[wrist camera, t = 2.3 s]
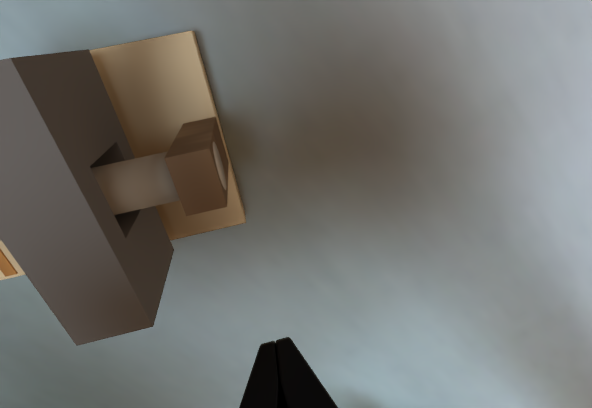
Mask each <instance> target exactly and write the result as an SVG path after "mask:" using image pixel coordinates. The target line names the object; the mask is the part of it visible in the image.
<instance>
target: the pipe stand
mask: <svg viewBox="0 0 592 408" xmlns="http://www.w3.org/2000/svg"><path fill="white" fill-rule="evenodd" d="M89 51H90V53H91V55H92V58H93V60H94V62H95V65H96V67H97V69H98V72H99V74H100V77H101V79H102V81H103V84H104V86H105V88H106V91H107V93H108V95H109V98H110V100H111V102H112V105H113V107H114V110H115V112H116V114H117V117H118V119H119V121H120V124H121V126H122V128H123V131H124V133H125V136H126V138H127V140H128V143H129V145H130V147H131V150H132V152H133V154H134V157H135V159H131V160H126V161H121V162H117V163H112V164H107V165H103V166H98V167H93V168H91V170H92V172H93V174H94V176H95V178H96V180H97V182H98V184H99V186H100V188H101V190H102V192H103V194H104V196H105V198H106V200H107V202H108V204H109V206H110V208H111V210H112V212H113V214H114V215H117V214H121V213H126V212H130V211H135V210H139V209H144V208H148V207H152V206H156V209H157V211H158V213H159V216H160V218H161V220H162V223H163V225H164V228H165V230H166V232H167V235H168V237H169V239H170V240H174V239H179V238H183V237H187V236H191V235H196V234H200V233H204V232H208V231H213V230H217V229H221V228H225V227H230V226H234V225H238V224H243V223H246V218H245V211H244V207H243V203H242V200H241V196H240V193H239V189H238V186H237V182H236V178H235V175H234V171H233V168H232V164H231V161H230V157H229V154H228V150H227V146H226V143H225V139H224V136H223V132H222V129H221V125H220V122H219V118H218V114H217V111H216V107H215V104H214V100H213V97H212V93H211V89H210V86H209V82H208V79H207V75H206V72H205V68H204V65H203V61H202V57H201V54H200V50H199V47H198V43H197V40H196V36H195V32H194V31H187V32H182V33H177V34H172V35H167V36H161V37H156V38H151V39H146V40H140V41H135V42H130V43H125V44H120V45H114V46H109V47H104V48H99V49H94V50H89ZM21 275H25V273H24V271H23V270H22V268H21V267H20V266H19V264H18V263H17V261H16V260H15V259H14V257H13V256H12V254H11V253H10V252H9V250H8V249H7V247H6V246H5V245H4V243H3V242H2V240H1V239H0V280H4V279H8V278H12V277H16V276H21Z"/></svg>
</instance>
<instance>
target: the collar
mask: <svg viewBox="0 0 592 408" xmlns="http://www.w3.org/2000/svg"><path fill="white" fill-rule="evenodd" d="M131 159H135V157H134V154H133V152H132V150H131V147H130V145H129V143H128V140H127V138H126V136H125V133H124V131H123V128H122V126H121V124H120V121H119V119H118V117H117V114H116V112H115V110H114V107H113V105H112V102H111V100H110V98H109V95H108V93H107V91H106V88H105V86H104V84H103V81H102V79H101V77H100V74H99V72H98V69H97V67H96V65H95V62H94V60H93V58H92V55H91V53H90V51H89V50H80V51H71V52H62V53H53V54H44V55H35V56H26V57H16V58H9V59H3V60H0V239H1V240H2V242H3V243H4V245H5V246H6V247H7V249H8V250H9V252H10V253H11V254H12V256H13V257H14V259H15V260H16V261H17V263H18V264H19V266H20V267H21V268H22V270H23V271H24V273H25V274H26V275H27V277H28V278H29V280H30V281H31V282H32V284H33V285H34V287H35V288H36V289H37V291H38V292H39V294H40V295H41V296H42V298H43V299H44V301H45V302H46V303H47V305H48V306H49V308H50V309H51V310H52V312H53V313H54V315H55V316H56V317H57V319H58V320H59V322H60V323H61V324H62V326H63V327H64V329H65V330H66V331H67V333H68V334H69V336H70V337H71V338H72V340H73V341H74V343H75V344H76V345H81V344H85V343H89V342H93V341H97V340H101V339H105V338H109V337H113V336H117V335H121V334H125V333H129V332H133V331H137V330H141V329H145V328H149V327H153V325H154V321H155V318H156V314H157V310H158V307H159V303H160V299H161V296H162V292H163V288H164V285H165V281H166V277H167V274H168V270H169V266H170V263H171V259H172V255H173V251H174V249H173V246H172V244H171V242H170V239H169V237H168V235H167V232H166V230H165V228H164V225H163V223H162V220H161V218H160V216H159V213H158V211H157V209H156V206H152V207H148V208H144V209H139V210H135V211H130V212H126V213H121V214H117V215H114V214H113V212H112V210H111V208H110V206H109V204H108V202H107V200H106V198H105V196H104V194H103V192H102V190H101V188H100V186H99V184H98V182H97V180H96V178H95V176H94V174H93V172H92V170H91V168H93V167H98V166H103V165H107V164H112V163H117V162H121V161H126V160H131Z"/></svg>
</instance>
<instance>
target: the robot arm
mask: <svg viewBox="0 0 592 408" xmlns="http://www.w3.org/2000/svg"><path fill="white" fill-rule="evenodd" d="M239 408H338V407H337V406H336V404H335V403H334V401H333V400H332V398H331V397H330V395H329V394H328V392H327V391H326V389H325V388H324V387H323V385H322V384H321V382H320V381H319V379H318V378H317V376H316V375H315V373H314V372H313V370H312V369H311V368H310V366H309V365H308V363H307V362H306V360H305V359H304V357H303V356H302V354H301V353H300V351H299V350H298V349H297V347H296V346H295V344H294V343H293V341H292V340H291V338H289V337H286V338H282V339H279V340H277V341H276V343H275V342H274V341H271V342H267V343H263V344H261V345H260V347H259V350H258V353H257V356H256V359H255V362H254V365H253V368H252V371H251V374H250V377H249V380H248V383H247V386H246V389H245V392H244V395H243V398H242V401H241V404H240V407H239Z"/></svg>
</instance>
